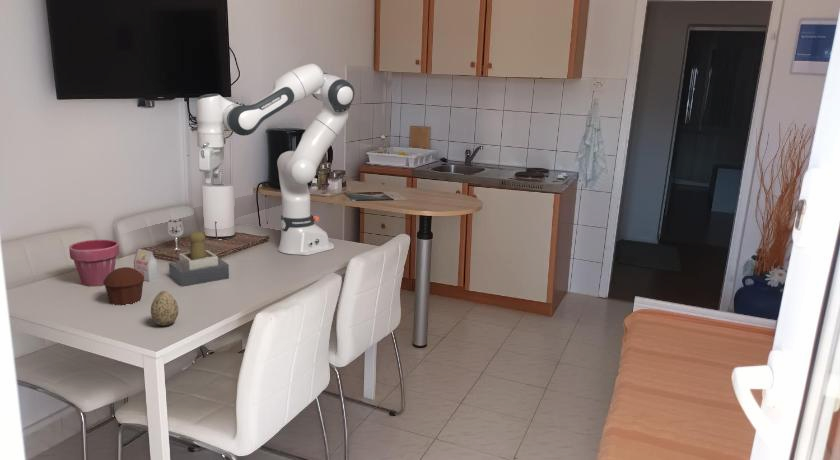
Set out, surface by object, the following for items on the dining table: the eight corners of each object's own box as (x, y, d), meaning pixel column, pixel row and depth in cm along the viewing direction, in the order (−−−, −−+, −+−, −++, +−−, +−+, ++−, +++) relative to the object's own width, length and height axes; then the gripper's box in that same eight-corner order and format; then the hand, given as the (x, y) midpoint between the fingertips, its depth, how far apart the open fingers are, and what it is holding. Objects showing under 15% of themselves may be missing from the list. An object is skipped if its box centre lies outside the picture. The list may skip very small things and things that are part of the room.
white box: (143, 275, 212) (141, 247, 209) (158, 279, 209) (156, 250, 206) (134, 278, 208) (132, 250, 206) (149, 282, 206) (147, 253, 203)
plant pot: (99, 272, 212) (96, 236, 209) (131, 278, 208) (128, 242, 205) (62, 284, 200) (58, 246, 196) (95, 291, 195) (91, 253, 192)
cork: (210, 261, 213) (209, 230, 211) (203, 266, 207) (201, 235, 205) (193, 260, 214) (192, 229, 211) (185, 265, 208) (184, 234, 205)
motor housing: (215, 268, 221) (214, 247, 219) (229, 278, 212) (228, 256, 210) (169, 276, 211) (168, 254, 209) (181, 286, 202) (180, 263, 200)
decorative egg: (152, 331, 168) (149, 297, 166) (151, 321, 175) (148, 288, 172) (180, 327, 171) (178, 293, 169) (178, 318, 178) (176, 285, 175)
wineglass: (173, 248, 244) (172, 218, 241) (187, 249, 243) (186, 219, 240) (166, 252, 238) (164, 222, 235) (180, 253, 237) (178, 223, 234)
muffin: (117, 292, 195) (115, 262, 192) (152, 294, 195) (150, 264, 192) (97, 306, 183) (94, 274, 181) (134, 308, 183) (131, 276, 181)
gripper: (212, 145, 205) (214, 186, 209) (226, 138, 225) (227, 176, 228) (192, 144, 205) (194, 185, 208) (208, 137, 225) (210, 175, 228)
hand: (212, 180), depth 219 cm, fingers open, 8 cm apart
